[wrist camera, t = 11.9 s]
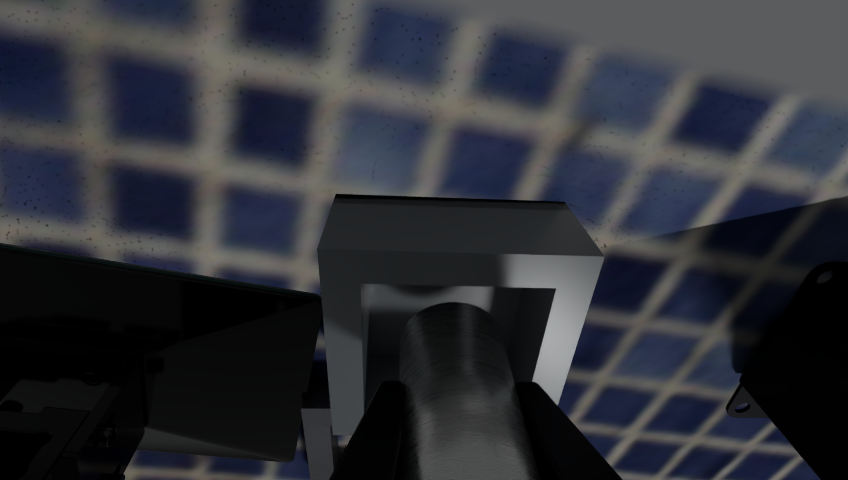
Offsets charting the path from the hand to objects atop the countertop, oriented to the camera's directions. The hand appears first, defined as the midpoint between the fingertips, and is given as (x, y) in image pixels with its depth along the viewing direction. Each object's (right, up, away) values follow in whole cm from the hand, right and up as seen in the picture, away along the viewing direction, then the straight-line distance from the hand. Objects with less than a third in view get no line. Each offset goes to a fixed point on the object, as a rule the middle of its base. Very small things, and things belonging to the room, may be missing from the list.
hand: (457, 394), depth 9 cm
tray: (0, +2, +3) cm, 4 cm away
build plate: (-11, +2, +5) cm, 12 cm away
